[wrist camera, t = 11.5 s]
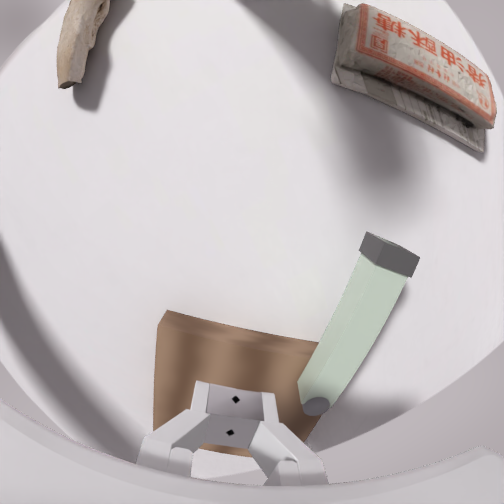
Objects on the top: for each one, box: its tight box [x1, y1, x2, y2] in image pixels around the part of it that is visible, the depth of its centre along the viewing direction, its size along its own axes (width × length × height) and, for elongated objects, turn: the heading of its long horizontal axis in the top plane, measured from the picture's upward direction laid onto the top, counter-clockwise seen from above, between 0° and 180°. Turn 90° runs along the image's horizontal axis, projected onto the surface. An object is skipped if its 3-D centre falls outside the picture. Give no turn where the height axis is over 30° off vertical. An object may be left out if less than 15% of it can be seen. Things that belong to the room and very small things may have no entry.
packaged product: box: [331, 3, 497, 152], centre depth 17 cm, size 18×5×10 cm
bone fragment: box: [57, 0, 110, 89], centre depth 16 cm, size 14×6×5 cm, turn 174°
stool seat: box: [153, 310, 322, 457], centre depth 27 cm, size 18×18×3 cm
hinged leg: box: [297, 231, 420, 416], centre depth 21 cm, size 16×3×3 cm, turn 161°
